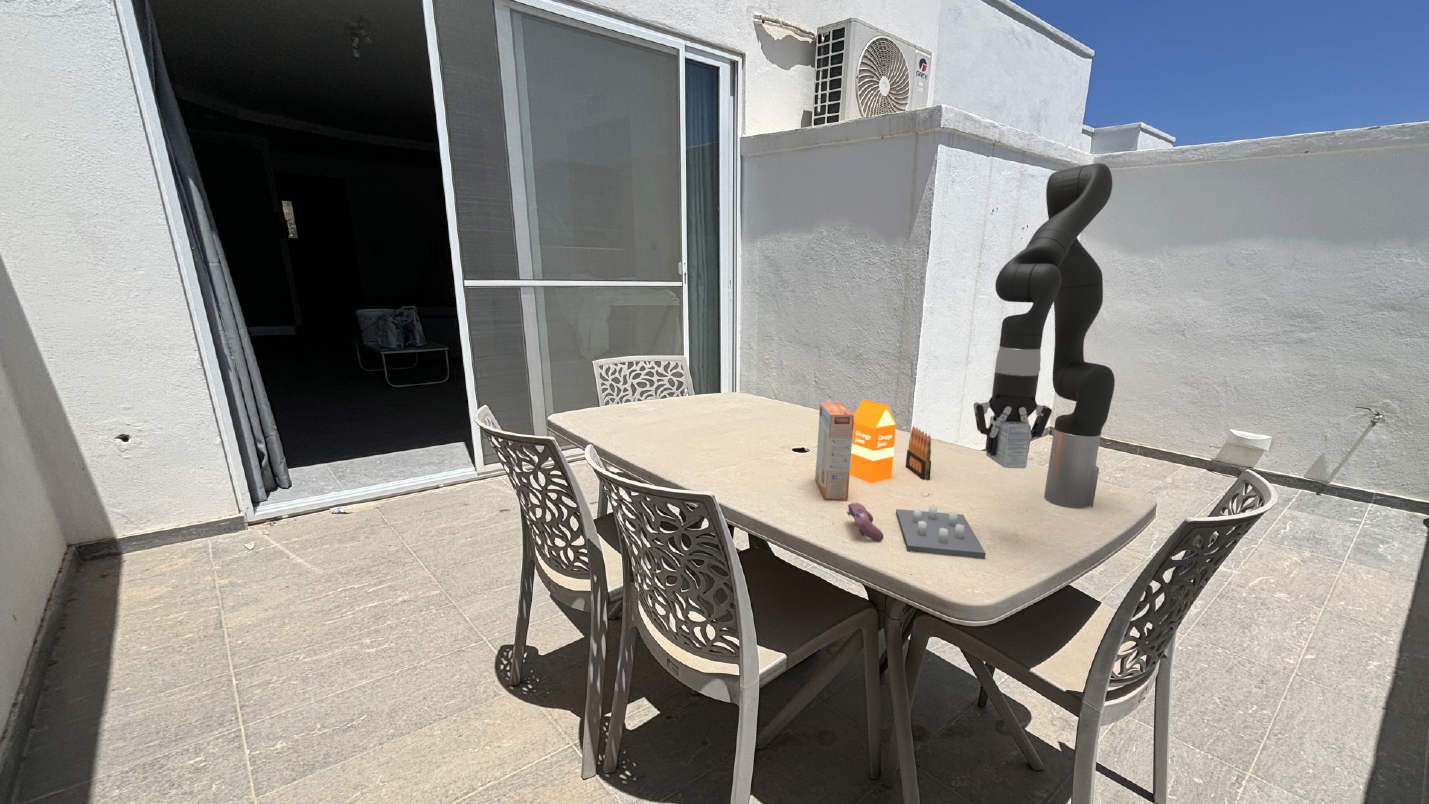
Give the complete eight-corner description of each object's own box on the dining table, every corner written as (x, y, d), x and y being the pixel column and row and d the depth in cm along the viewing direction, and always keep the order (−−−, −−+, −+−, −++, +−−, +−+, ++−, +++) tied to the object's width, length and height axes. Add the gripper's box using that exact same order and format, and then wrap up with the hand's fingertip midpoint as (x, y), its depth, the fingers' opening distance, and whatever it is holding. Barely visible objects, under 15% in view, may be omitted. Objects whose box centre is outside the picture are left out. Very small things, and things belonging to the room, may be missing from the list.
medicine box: (1026, 469, 110) (1032, 425, 108) (1003, 468, 110) (1008, 424, 108) (1006, 456, 117) (1012, 415, 116) (985, 455, 117) (990, 415, 116)
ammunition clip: (905, 466, 159) (908, 425, 157) (911, 466, 160) (915, 425, 157) (923, 480, 149) (927, 435, 146) (930, 480, 149) (934, 435, 147)
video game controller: (854, 528, 123) (841, 500, 122) (873, 519, 123) (861, 492, 122) (864, 549, 114) (850, 520, 112) (886, 540, 113) (872, 510, 112)
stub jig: (962, 519, 125) (964, 504, 124) (984, 558, 107) (987, 541, 107) (895, 514, 127) (897, 498, 126) (907, 551, 110) (908, 533, 109)
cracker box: (849, 501, 134) (855, 414, 130) (823, 500, 134) (828, 413, 130) (837, 480, 148) (843, 401, 143) (814, 479, 148) (818, 400, 143)
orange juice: (871, 483, 146) (877, 407, 142) (846, 473, 153) (851, 400, 149) (892, 478, 150) (898, 403, 146) (866, 468, 158) (872, 397, 153)
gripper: (1049, 369, 112) (1038, 452, 116) (972, 366, 114) (963, 447, 118) (1065, 375, 105) (1052, 464, 108) (982, 372, 107) (972, 459, 111)
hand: (1005, 455), depth 113 cm, fingers closed on medicine box, 5 cm apart
